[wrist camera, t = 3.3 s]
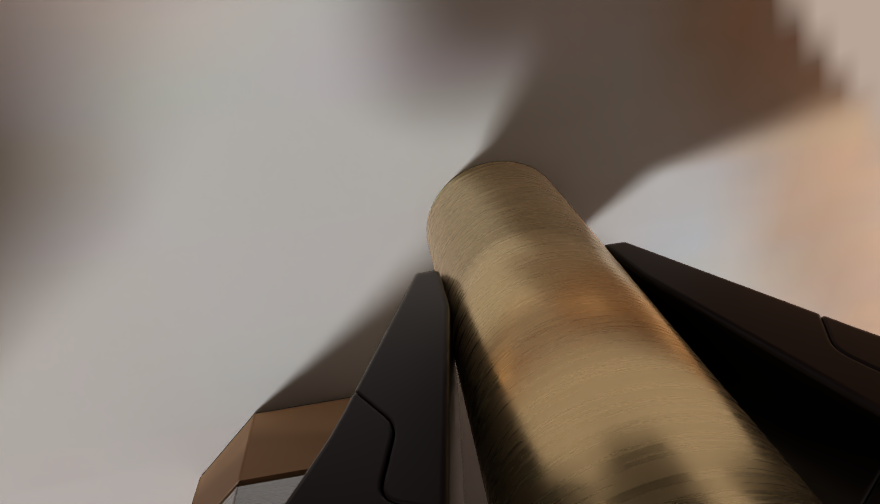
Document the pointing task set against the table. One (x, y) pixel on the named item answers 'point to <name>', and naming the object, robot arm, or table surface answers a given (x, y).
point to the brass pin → (581, 363)
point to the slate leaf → (264, 492)
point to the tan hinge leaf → (270, 449)
